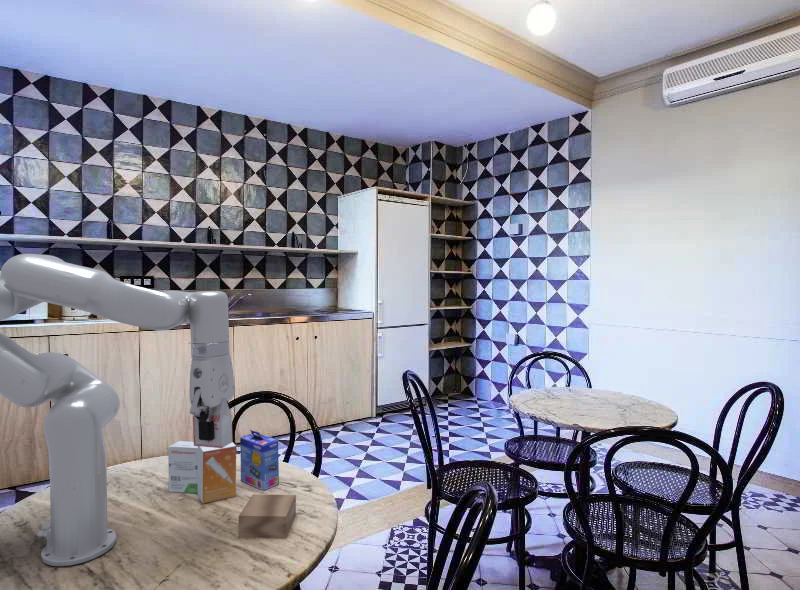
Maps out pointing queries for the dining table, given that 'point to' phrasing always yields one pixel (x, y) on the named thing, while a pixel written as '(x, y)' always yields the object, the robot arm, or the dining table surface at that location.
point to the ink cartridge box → (259, 460)
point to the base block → (267, 516)
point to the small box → (216, 473)
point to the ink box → (183, 467)
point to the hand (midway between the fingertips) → (213, 435)
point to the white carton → (216, 427)
